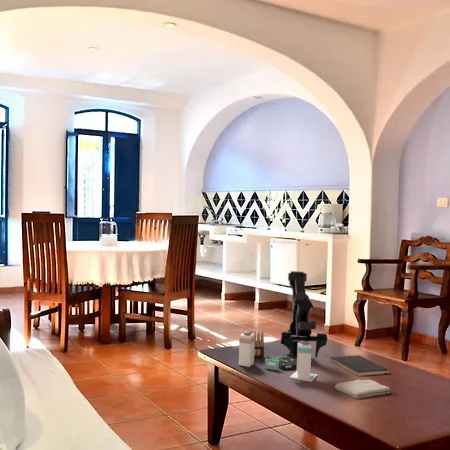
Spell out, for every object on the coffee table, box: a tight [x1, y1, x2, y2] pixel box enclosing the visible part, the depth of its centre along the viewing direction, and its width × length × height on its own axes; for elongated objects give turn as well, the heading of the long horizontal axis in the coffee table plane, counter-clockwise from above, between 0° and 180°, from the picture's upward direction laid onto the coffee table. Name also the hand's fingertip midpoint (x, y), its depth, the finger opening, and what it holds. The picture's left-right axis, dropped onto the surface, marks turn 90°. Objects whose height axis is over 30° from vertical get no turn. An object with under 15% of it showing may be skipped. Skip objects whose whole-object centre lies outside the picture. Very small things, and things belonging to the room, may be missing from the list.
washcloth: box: [334, 378, 391, 399], centre depth 213 cm, size 12×18×3 cm, turn 119°
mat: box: [289, 370, 318, 383], centre depth 228 cm, size 9×9×1 cm
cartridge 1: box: [238, 331, 255, 368], centre depth 243 cm, size 5×5×14 cm
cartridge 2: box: [296, 340, 312, 378], centre depth 228 cm, size 5×5×14 cm
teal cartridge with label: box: [264, 358, 280, 371], centre depth 237 cm, size 1×6×4 cm, turn 65°
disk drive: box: [265, 354, 297, 371], centre depth 246 cm, size 10×3×15 cm
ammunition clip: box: [242, 330, 265, 359], centre depth 255 cm, size 11×2×12 cm, turn 105°
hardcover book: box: [329, 354, 391, 377], centre depth 246 cm, size 16×23×2 cm
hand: (304, 357), depth 226 cm, fingers open, 9 cm apart
